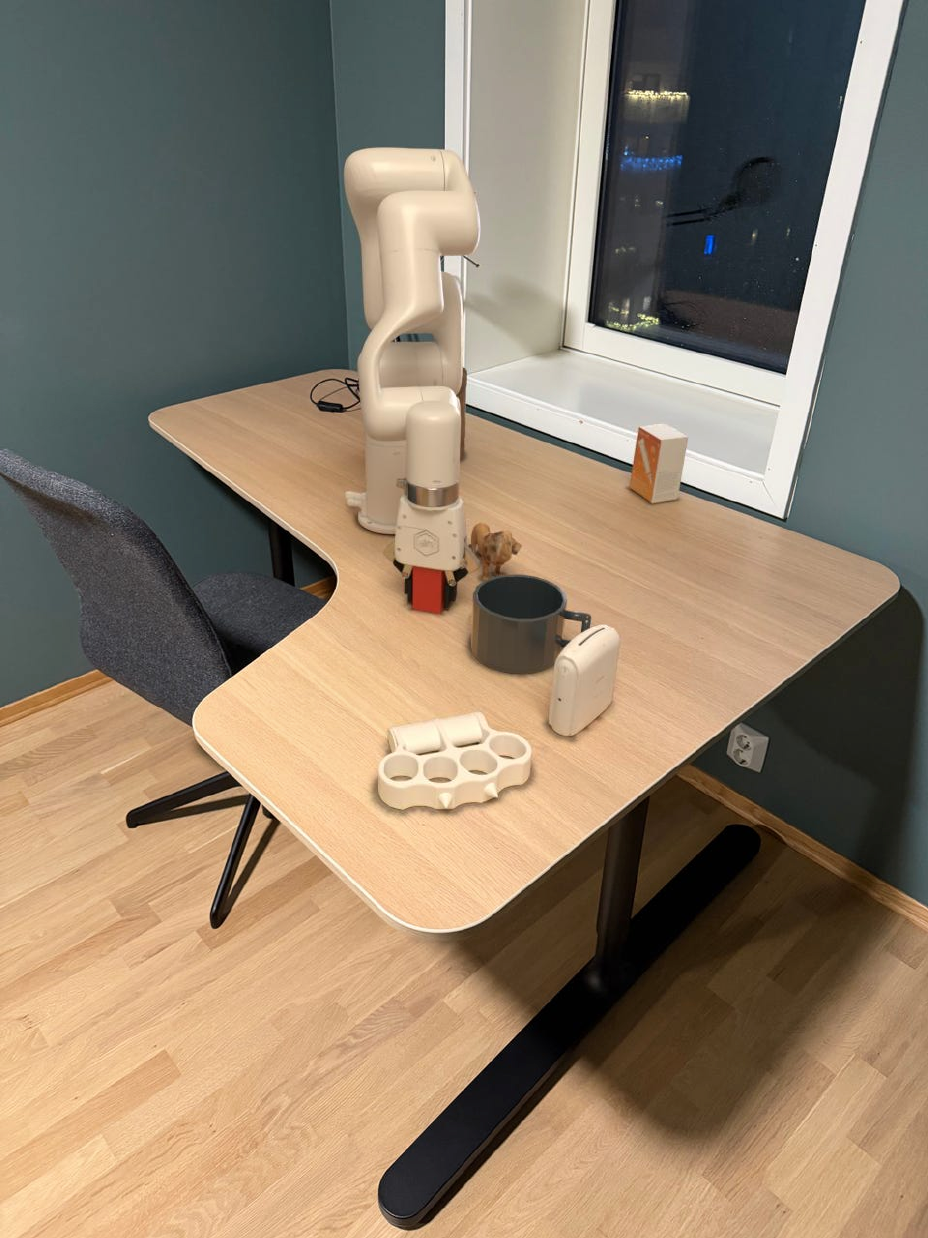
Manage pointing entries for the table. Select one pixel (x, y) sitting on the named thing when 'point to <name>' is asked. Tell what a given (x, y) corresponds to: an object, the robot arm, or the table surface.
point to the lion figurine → (493, 547)
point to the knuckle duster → (451, 762)
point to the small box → (658, 462)
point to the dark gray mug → (520, 623)
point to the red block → (428, 589)
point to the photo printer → (584, 679)
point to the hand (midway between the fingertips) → (430, 600)
